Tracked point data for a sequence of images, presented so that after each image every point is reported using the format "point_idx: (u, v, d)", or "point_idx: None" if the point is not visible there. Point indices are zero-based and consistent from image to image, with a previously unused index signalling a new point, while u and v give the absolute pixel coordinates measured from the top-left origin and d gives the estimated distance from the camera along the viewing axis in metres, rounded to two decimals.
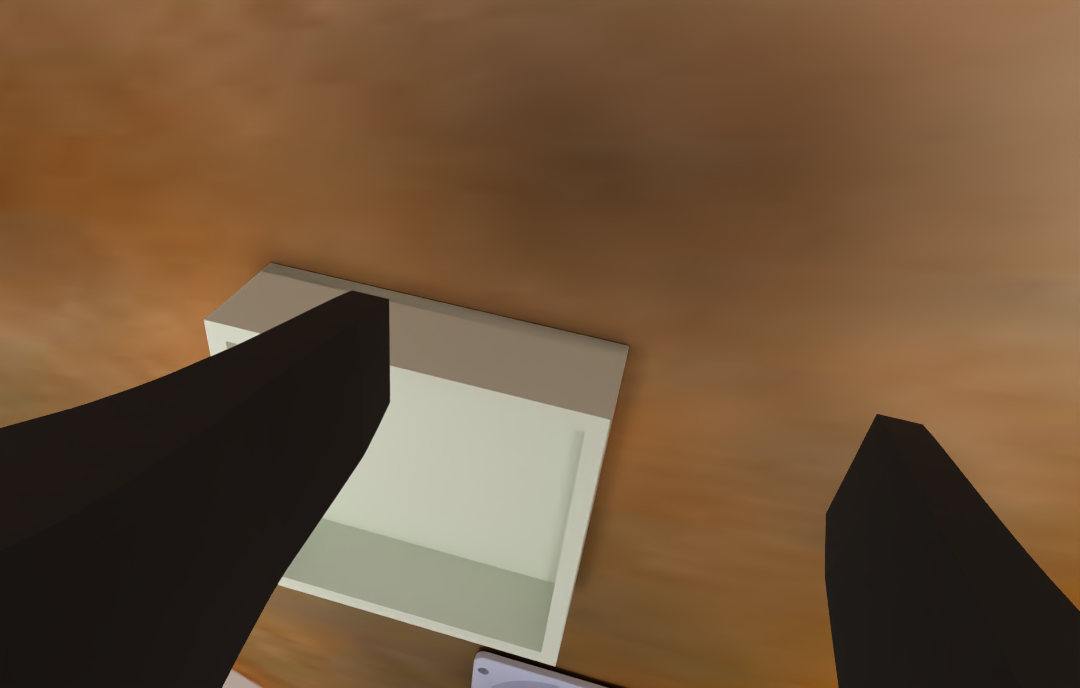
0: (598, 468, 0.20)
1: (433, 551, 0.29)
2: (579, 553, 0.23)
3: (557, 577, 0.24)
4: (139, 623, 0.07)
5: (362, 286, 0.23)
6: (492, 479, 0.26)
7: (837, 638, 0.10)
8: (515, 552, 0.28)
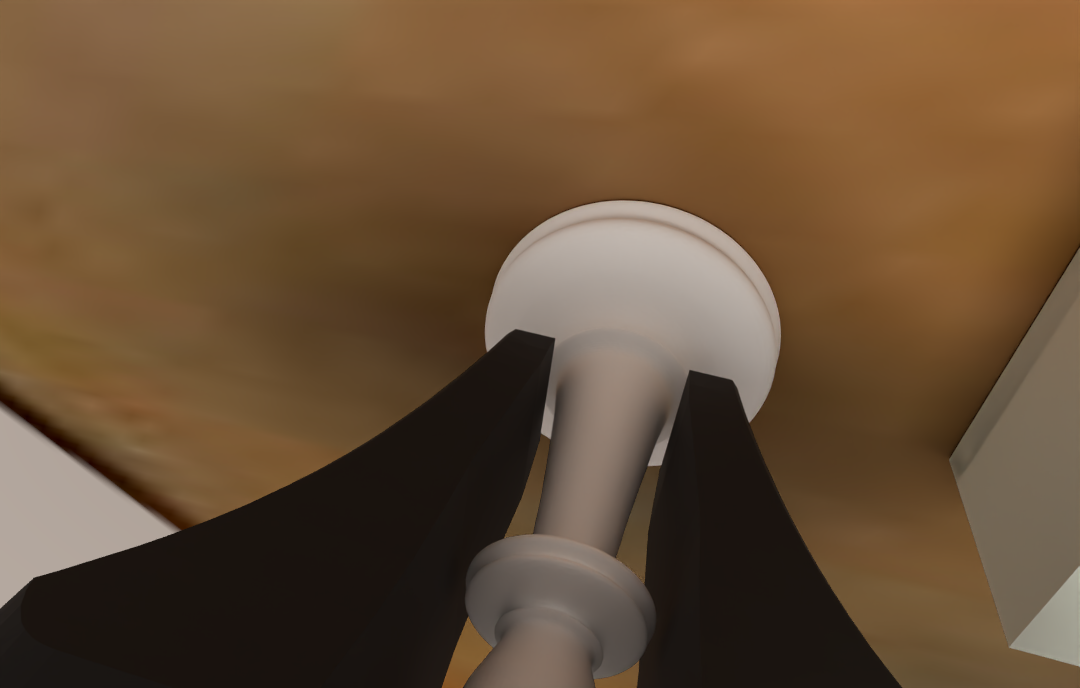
0: None
1: None
2: None
3: None
4: None
5: None
6: None
7: (646, 585, 0.10)
8: None
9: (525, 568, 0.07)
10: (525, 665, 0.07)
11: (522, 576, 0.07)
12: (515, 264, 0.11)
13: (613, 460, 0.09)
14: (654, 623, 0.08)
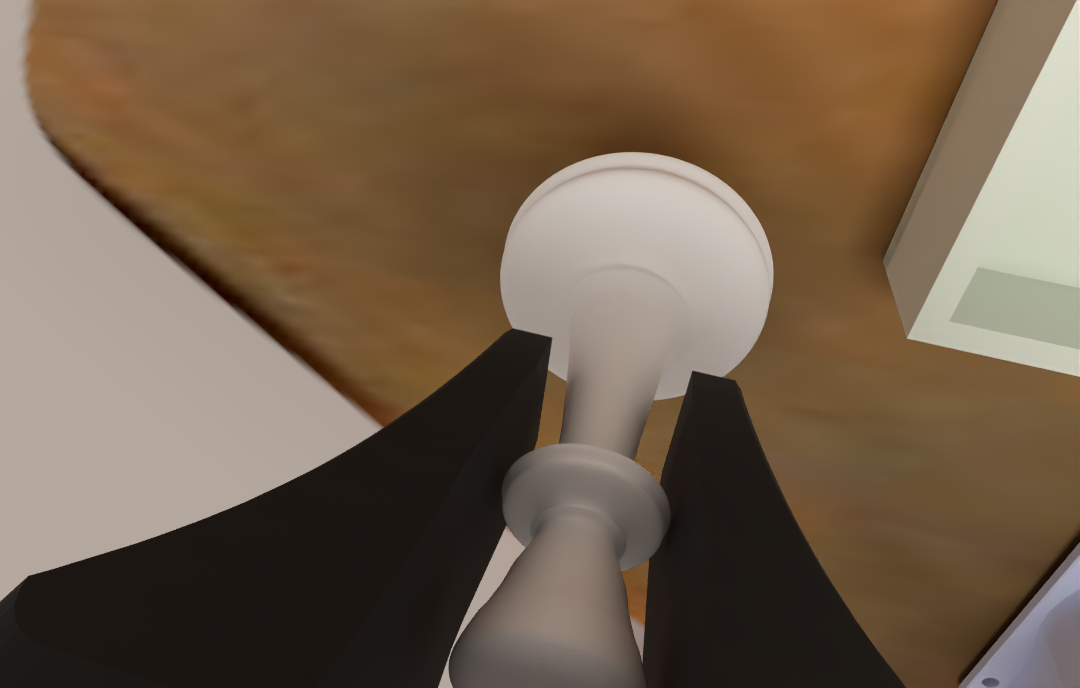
0: None
1: None
2: None
3: None
4: None
5: None
6: None
7: (649, 586, 0.10)
8: None
9: (555, 472, 0.08)
10: (561, 548, 0.08)
11: (553, 479, 0.08)
12: (527, 216, 0.12)
13: (627, 384, 0.10)
14: (669, 517, 0.09)
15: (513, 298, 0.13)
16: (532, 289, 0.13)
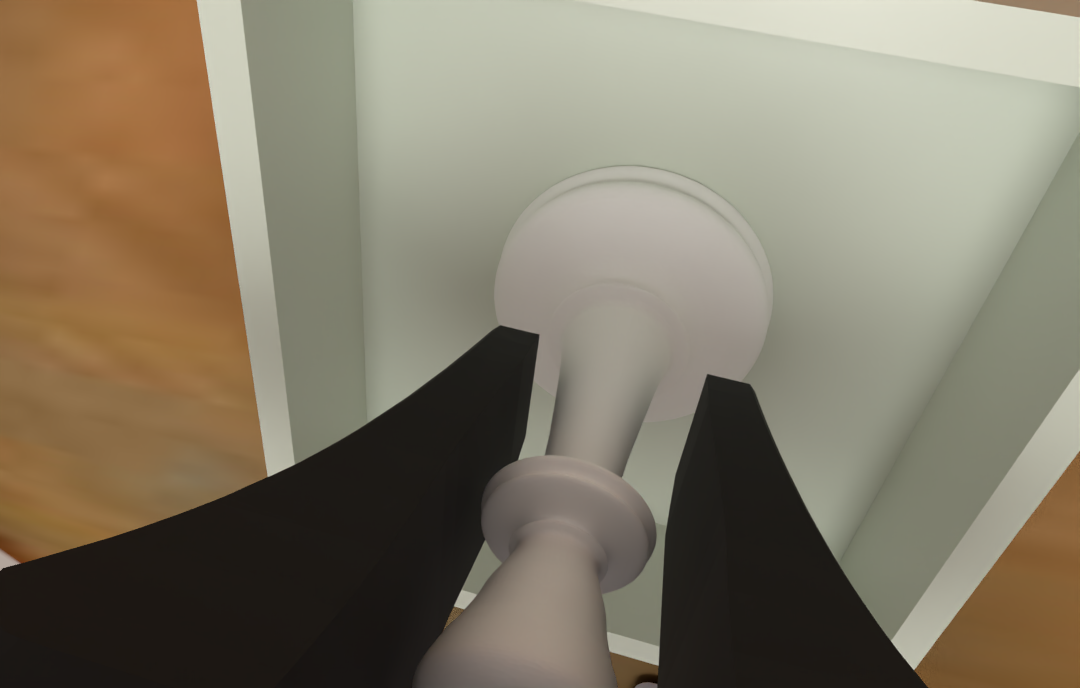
0: None
1: None
2: (1047, 489, 0.10)
3: (959, 547, 0.11)
4: None
5: None
6: None
7: (664, 590, 0.10)
8: None
9: (540, 485, 0.08)
10: (541, 565, 0.07)
11: (538, 492, 0.08)
12: (528, 222, 0.12)
13: (619, 401, 0.10)
14: (654, 542, 0.08)
15: (506, 305, 0.13)
16: (527, 297, 0.12)
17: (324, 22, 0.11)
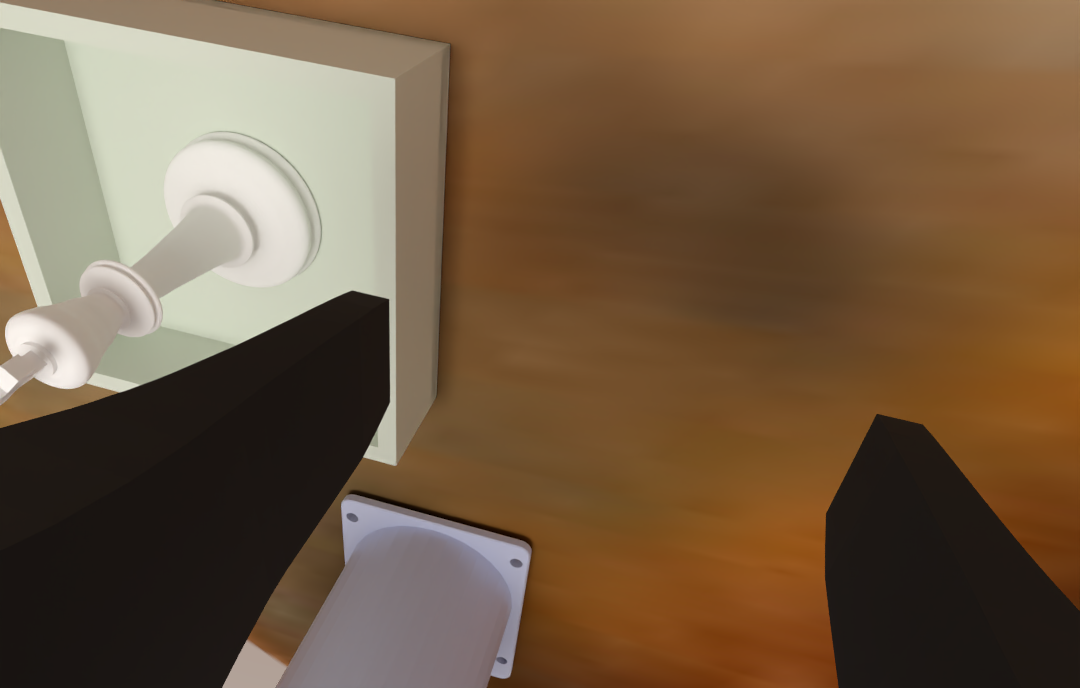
0: (393, 158, 0.17)
1: None
2: (394, 293, 0.19)
3: None
4: (139, 623, 0.07)
5: None
6: (322, 248, 0.23)
7: (837, 638, 0.10)
8: None
9: (95, 272, 0.17)
10: (77, 298, 0.17)
11: (93, 275, 0.17)
12: (170, 163, 0.21)
13: (175, 248, 0.19)
14: (158, 303, 0.18)
15: (171, 214, 0.22)
16: (176, 208, 0.22)
17: (39, 53, 0.20)
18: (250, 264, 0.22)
